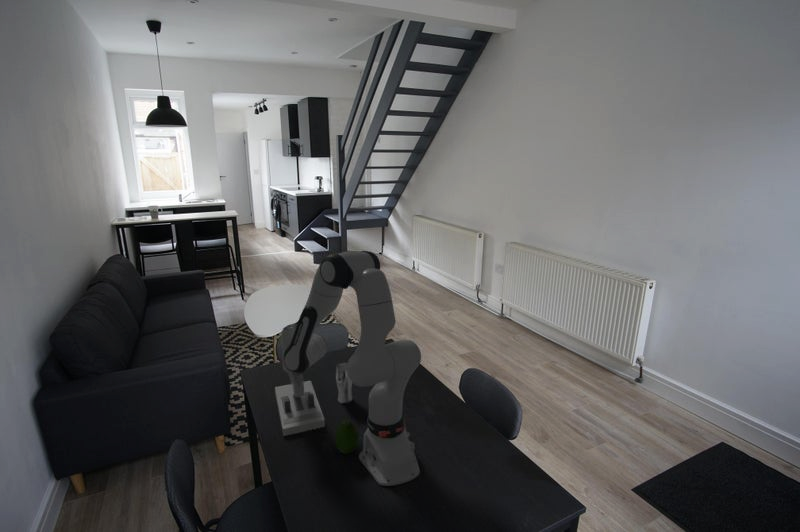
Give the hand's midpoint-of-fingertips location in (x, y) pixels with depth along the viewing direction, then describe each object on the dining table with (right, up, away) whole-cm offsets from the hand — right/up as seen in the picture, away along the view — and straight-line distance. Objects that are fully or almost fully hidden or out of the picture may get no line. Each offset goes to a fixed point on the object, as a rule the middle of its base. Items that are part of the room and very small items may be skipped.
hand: (296, 394), depth 167 cm
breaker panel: (+1, -6, 0) cm, 6 cm away
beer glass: (+19, -4, +6) cm, 20 cm away
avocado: (+23, -12, -24) cm, 35 cm away
